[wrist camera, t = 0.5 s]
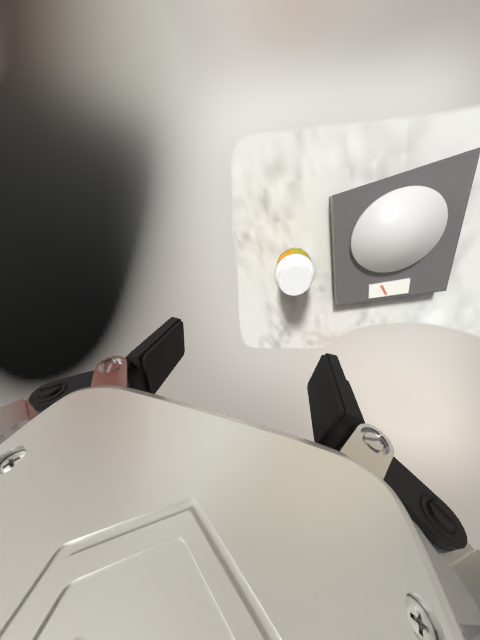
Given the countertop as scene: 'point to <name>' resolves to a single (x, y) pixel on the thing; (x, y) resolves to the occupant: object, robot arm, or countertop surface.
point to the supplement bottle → (294, 271)
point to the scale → (400, 231)
